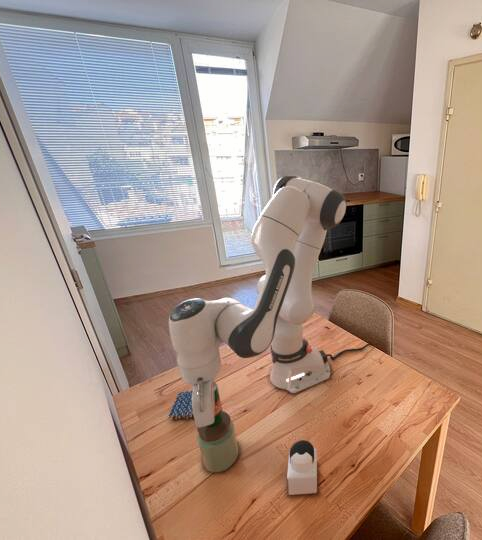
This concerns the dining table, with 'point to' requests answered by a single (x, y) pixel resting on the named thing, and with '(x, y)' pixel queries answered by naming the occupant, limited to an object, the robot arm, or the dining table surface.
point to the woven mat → (182, 406)
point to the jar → (218, 445)
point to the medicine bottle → (302, 468)
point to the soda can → (217, 408)
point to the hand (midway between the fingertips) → (210, 407)
